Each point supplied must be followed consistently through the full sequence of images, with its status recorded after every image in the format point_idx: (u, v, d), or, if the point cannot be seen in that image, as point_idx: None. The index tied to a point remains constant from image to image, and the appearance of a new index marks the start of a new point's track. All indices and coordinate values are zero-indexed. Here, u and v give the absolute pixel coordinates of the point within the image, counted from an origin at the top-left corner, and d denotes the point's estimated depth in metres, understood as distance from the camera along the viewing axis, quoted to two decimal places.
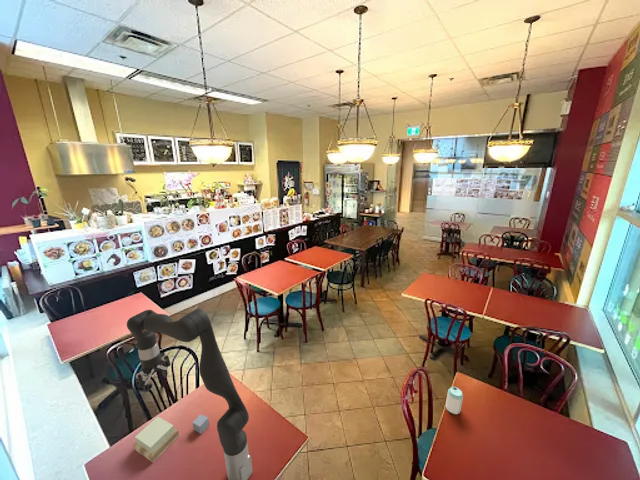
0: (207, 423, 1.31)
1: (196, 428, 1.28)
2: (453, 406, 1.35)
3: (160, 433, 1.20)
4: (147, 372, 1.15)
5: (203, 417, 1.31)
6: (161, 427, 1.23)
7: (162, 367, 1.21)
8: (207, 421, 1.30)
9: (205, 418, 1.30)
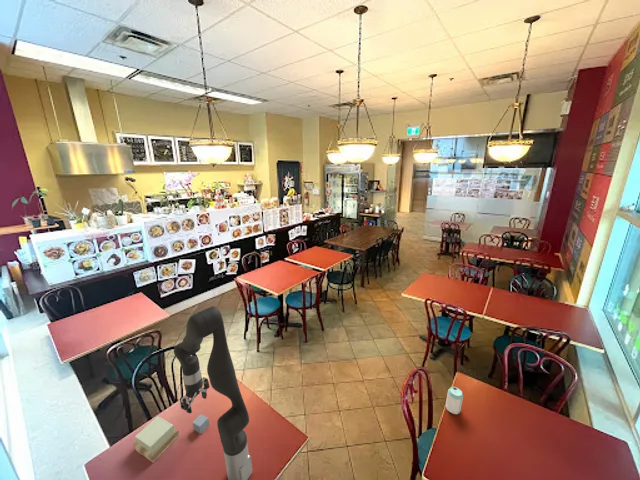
0: (207, 423, 1.31)
1: (196, 428, 1.28)
2: (453, 406, 1.35)
3: (160, 433, 1.20)
4: (190, 396, 1.21)
5: (203, 417, 1.31)
6: (161, 426, 1.23)
7: (203, 390, 1.26)
8: (207, 421, 1.30)
9: (205, 418, 1.30)
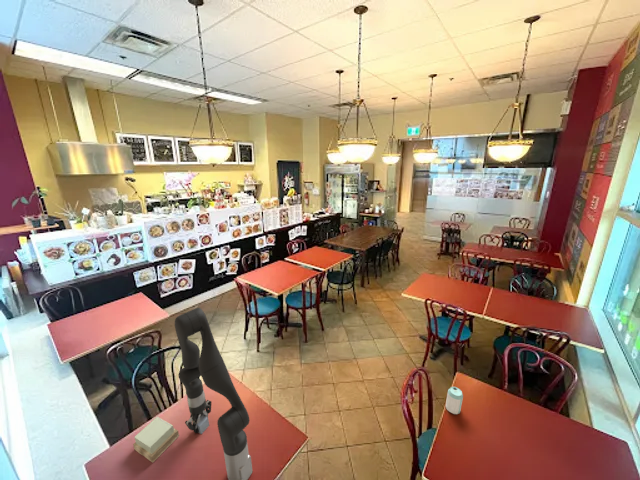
0: (207, 423, 1.30)
1: None
2: (453, 406, 1.35)
3: (159, 433, 1.20)
4: (195, 418, 1.25)
5: (203, 417, 1.31)
6: (161, 427, 1.23)
7: (205, 413, 1.30)
8: (207, 421, 1.30)
9: (205, 418, 1.30)
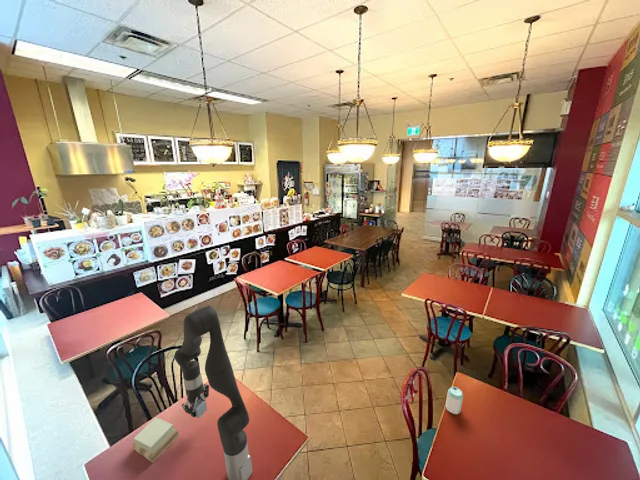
0: (205, 407, 1.27)
1: None
2: (453, 406, 1.35)
3: (160, 433, 1.20)
4: (192, 402, 1.22)
5: (200, 401, 1.28)
6: (160, 427, 1.23)
7: (203, 397, 1.27)
8: (205, 405, 1.27)
9: (202, 402, 1.27)
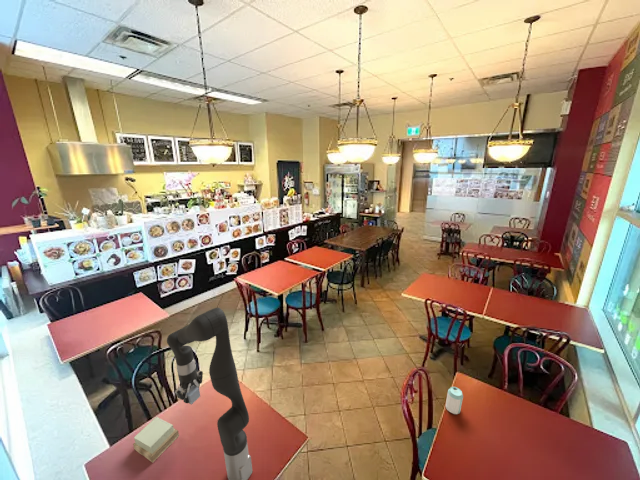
0: (198, 393, 1.25)
1: None
2: (453, 406, 1.35)
3: (159, 433, 1.20)
4: (185, 387, 1.19)
5: (194, 387, 1.25)
6: (160, 427, 1.23)
7: (196, 383, 1.24)
8: (198, 391, 1.24)
9: (196, 388, 1.24)
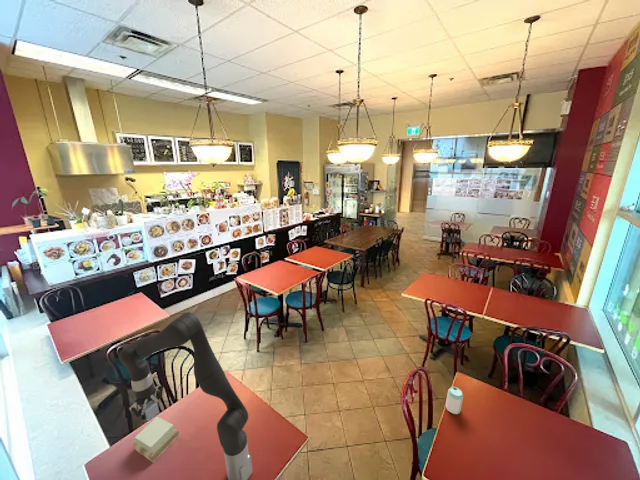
0: (156, 409, 1.19)
1: None
2: (453, 406, 1.35)
3: (160, 433, 1.21)
4: (140, 404, 1.13)
5: (152, 403, 1.19)
6: (161, 427, 1.23)
7: (154, 398, 1.18)
8: (156, 407, 1.18)
9: (154, 404, 1.18)
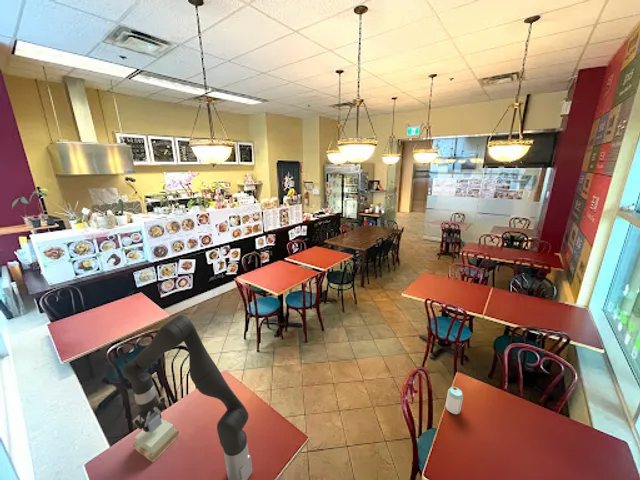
0: (159, 421, 1.21)
1: None
2: (453, 406, 1.35)
3: (160, 433, 1.21)
4: (144, 416, 1.15)
5: (155, 415, 1.21)
6: (161, 427, 1.23)
7: (157, 410, 1.20)
8: (159, 419, 1.20)
9: (157, 416, 1.20)
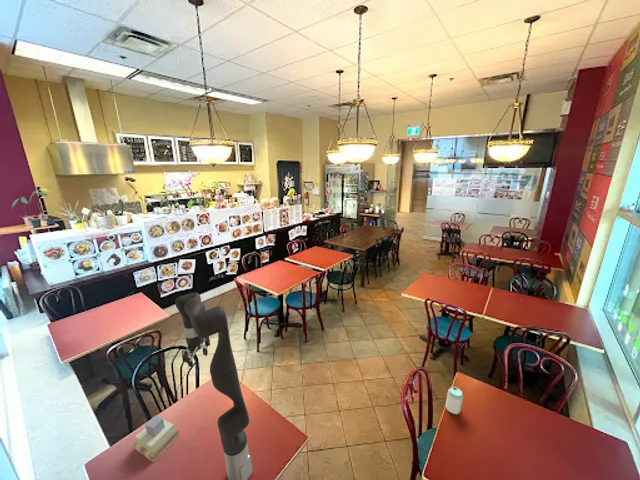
0: (162, 424, 1.22)
1: (149, 430, 1.19)
2: (453, 406, 1.35)
3: (160, 433, 1.21)
4: (192, 349, 1.25)
5: (157, 418, 1.22)
6: None
7: (204, 346, 1.30)
8: (162, 422, 1.22)
9: (159, 419, 1.22)
